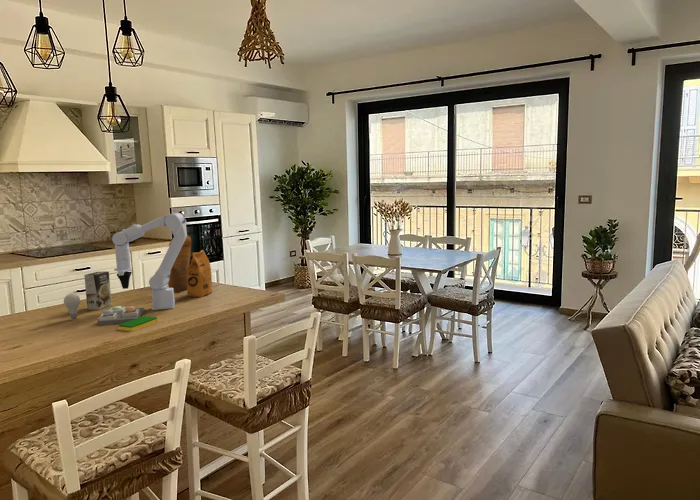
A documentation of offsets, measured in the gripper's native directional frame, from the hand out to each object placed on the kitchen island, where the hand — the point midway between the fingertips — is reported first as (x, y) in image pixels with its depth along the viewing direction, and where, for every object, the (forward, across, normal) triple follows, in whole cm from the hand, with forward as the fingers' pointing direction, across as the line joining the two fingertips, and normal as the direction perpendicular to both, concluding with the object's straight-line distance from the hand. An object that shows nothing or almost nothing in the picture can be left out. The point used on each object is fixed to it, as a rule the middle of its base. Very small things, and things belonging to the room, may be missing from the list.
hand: (125, 288), depth 229 cm
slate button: (+7, +21, -4) cm, 23 cm away
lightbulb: (+10, +12, -19) cm, 24 cm away
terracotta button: (+7, +18, +4) cm, 20 cm away
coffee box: (+10, -7, -13) cm, 18 cm away
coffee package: (+10, -19, +31) cm, 38 cm away
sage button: (+8, +11, -2) cm, 14 cm away
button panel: (+9, +16, 0) cm, 18 cm away
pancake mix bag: (+10, -32, +21) cm, 39 cm away
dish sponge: (+10, +31, +9) cm, 34 cm away
